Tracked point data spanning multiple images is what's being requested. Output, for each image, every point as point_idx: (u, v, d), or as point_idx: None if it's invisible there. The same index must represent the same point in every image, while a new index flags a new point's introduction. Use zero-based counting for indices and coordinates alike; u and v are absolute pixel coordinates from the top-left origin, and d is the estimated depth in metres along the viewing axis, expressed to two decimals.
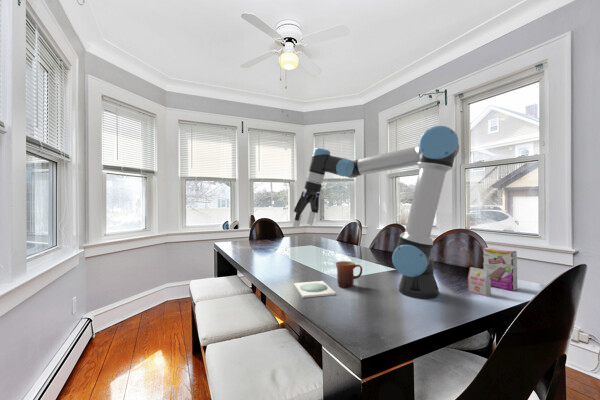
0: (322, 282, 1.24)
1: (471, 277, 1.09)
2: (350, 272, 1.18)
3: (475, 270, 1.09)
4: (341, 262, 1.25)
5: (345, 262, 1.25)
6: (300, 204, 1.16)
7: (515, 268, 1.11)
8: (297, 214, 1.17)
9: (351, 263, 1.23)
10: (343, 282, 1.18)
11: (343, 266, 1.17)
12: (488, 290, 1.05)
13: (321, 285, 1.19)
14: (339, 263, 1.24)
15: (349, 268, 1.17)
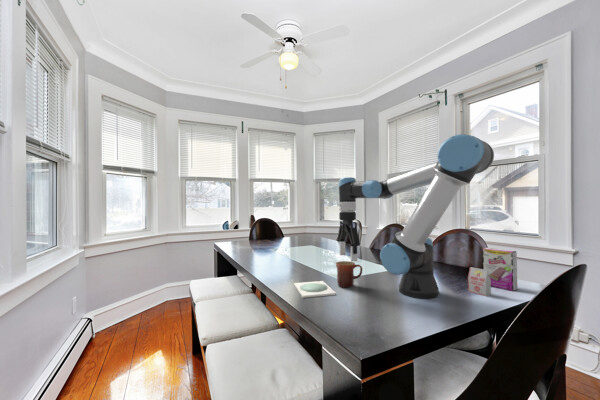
0: (322, 282, 1.24)
1: (471, 277, 1.09)
2: (350, 272, 1.18)
3: (475, 270, 1.09)
4: (341, 262, 1.25)
5: (345, 262, 1.25)
6: (356, 236, 1.13)
7: (515, 268, 1.11)
8: (355, 247, 1.13)
9: (351, 263, 1.23)
10: (343, 282, 1.18)
11: (343, 266, 1.17)
12: (488, 290, 1.05)
13: (321, 285, 1.19)
14: (339, 263, 1.24)
15: (349, 268, 1.17)
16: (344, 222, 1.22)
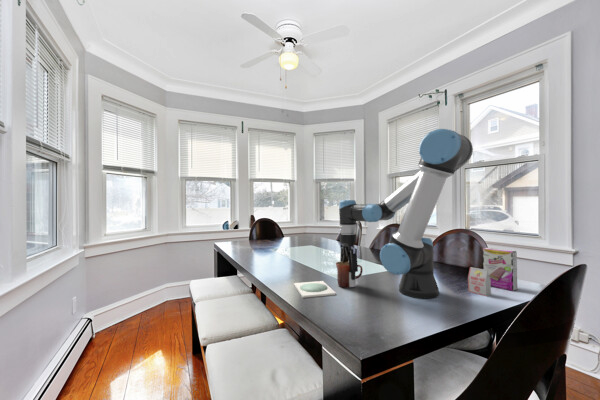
0: (322, 282, 1.24)
1: (471, 277, 1.09)
2: None
3: (475, 270, 1.09)
4: (341, 262, 1.24)
5: (345, 262, 1.25)
6: (355, 263, 1.15)
7: (515, 268, 1.11)
8: (353, 273, 1.16)
9: None
10: (343, 282, 1.17)
11: (343, 266, 1.17)
12: (488, 290, 1.05)
13: (321, 285, 1.19)
14: (339, 263, 1.24)
15: (349, 268, 1.17)
16: (344, 243, 1.23)
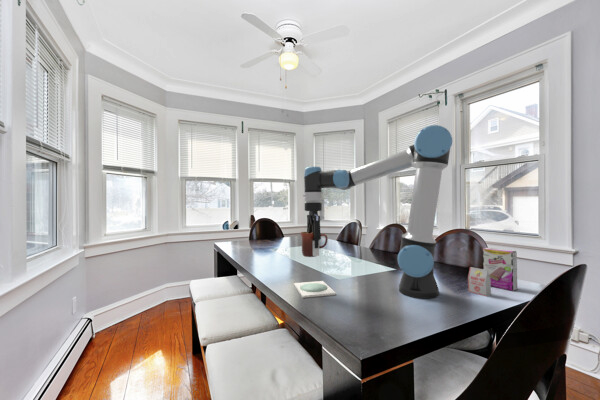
0: (322, 282, 1.24)
1: (471, 277, 1.09)
2: None
3: (475, 270, 1.09)
4: (306, 233, 1.20)
5: None
6: (318, 230, 1.10)
7: (515, 268, 1.11)
8: (317, 241, 1.12)
9: None
10: (307, 251, 1.13)
11: (307, 234, 1.13)
12: (488, 290, 1.05)
13: (321, 285, 1.19)
14: None
15: None
16: (309, 212, 1.19)
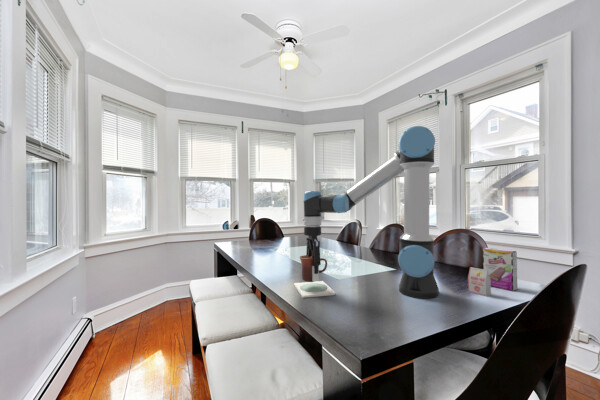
0: (322, 282, 1.24)
1: (471, 277, 1.09)
2: None
3: (475, 270, 1.09)
4: (306, 256, 1.20)
5: (311, 256, 1.20)
6: (318, 256, 1.10)
7: (515, 268, 1.11)
8: (316, 267, 1.11)
9: None
10: (306, 276, 1.13)
11: (306, 259, 1.12)
12: (488, 290, 1.05)
13: (321, 285, 1.19)
14: (304, 257, 1.19)
15: (312, 262, 1.13)
16: (309, 236, 1.18)
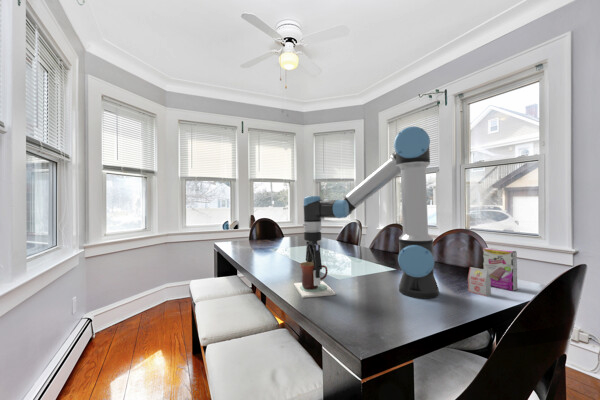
0: (322, 282, 1.24)
1: (471, 277, 1.09)
2: None
3: (475, 270, 1.09)
4: (306, 263, 1.20)
5: (311, 263, 1.20)
6: (319, 259, 1.09)
7: (515, 268, 1.11)
8: (318, 271, 1.09)
9: None
10: (307, 284, 1.13)
11: (306, 267, 1.12)
12: (488, 290, 1.05)
13: (321, 285, 1.19)
14: (304, 264, 1.19)
15: None
16: (309, 242, 1.18)
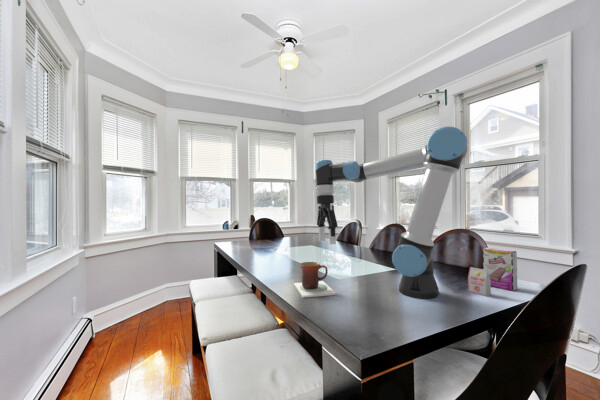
0: (322, 282, 1.24)
1: (471, 277, 1.09)
2: (314, 273, 1.13)
3: (475, 270, 1.09)
4: (306, 263, 1.20)
5: (311, 263, 1.20)
6: (334, 218, 1.11)
7: (515, 268, 1.11)
8: (333, 229, 1.11)
9: (317, 264, 1.18)
10: (307, 284, 1.13)
11: (307, 267, 1.12)
12: (488, 290, 1.05)
13: (321, 285, 1.19)
14: (304, 264, 1.19)
15: (313, 269, 1.12)
16: (322, 206, 1.20)
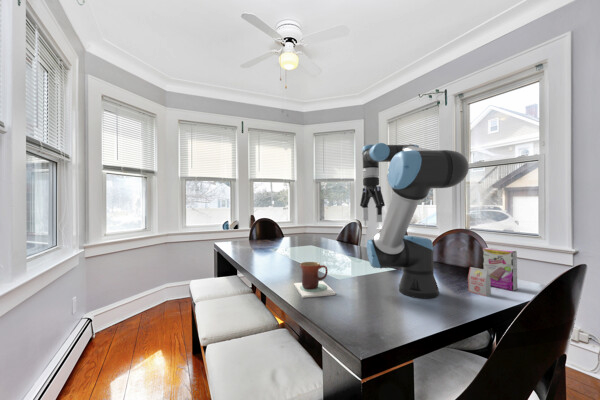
0: (322, 282, 1.24)
1: (471, 277, 1.09)
2: (314, 273, 1.13)
3: (475, 270, 1.09)
4: (306, 263, 1.20)
5: (311, 263, 1.20)
6: (381, 198, 1.20)
7: (515, 268, 1.11)
8: (380, 208, 1.20)
9: (317, 264, 1.18)
10: (307, 284, 1.13)
11: (307, 267, 1.12)
12: (488, 290, 1.05)
13: (321, 285, 1.19)
14: (304, 264, 1.19)
15: (313, 269, 1.12)
16: (368, 188, 1.30)
